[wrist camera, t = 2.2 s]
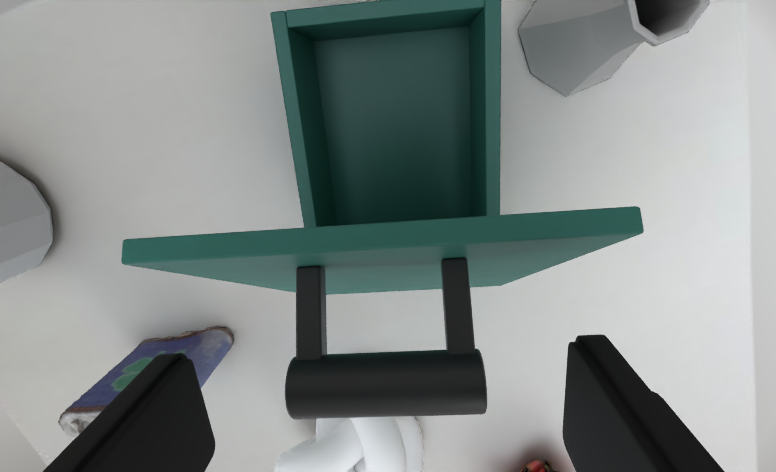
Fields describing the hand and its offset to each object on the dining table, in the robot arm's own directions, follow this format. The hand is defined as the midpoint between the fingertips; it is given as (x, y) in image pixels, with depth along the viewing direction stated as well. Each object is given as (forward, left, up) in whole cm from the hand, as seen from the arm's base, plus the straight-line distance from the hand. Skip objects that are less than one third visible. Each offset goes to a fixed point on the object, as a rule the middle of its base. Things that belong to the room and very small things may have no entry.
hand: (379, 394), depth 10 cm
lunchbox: (-4, 0, -22) cm, 22 cm away
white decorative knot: (+19, -5, -22) cm, 30 cm away
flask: (-10, +12, -22) cm, 27 cm away
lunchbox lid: (0, 0, -8) cm, 7 cm away
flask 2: (+12, -20, -22) cm, 32 cm away
